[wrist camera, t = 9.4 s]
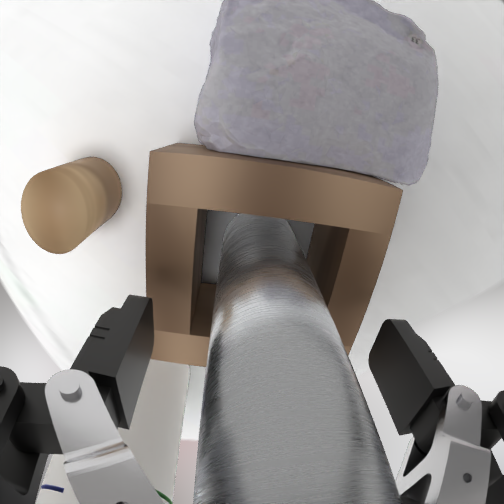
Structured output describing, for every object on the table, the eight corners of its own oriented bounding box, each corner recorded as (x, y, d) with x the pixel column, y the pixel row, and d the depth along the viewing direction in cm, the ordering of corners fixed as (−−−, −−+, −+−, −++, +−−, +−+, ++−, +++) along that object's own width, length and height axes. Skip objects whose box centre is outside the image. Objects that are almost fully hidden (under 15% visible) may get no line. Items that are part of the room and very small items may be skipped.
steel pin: (299, 213, 17) (447, 485, 3) (286, 277, 18) (353, 544, 4) (227, 203, 16) (187, 519, 3) (219, 269, 18) (192, 553, 4)
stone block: (218, 5, 13) (195, 160, 15) (218, -43, 9) (183, 150, 11) (400, 46, 15) (397, 188, 17) (441, 19, 10) (447, 192, 12)
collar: (360, 170, 16) (402, 190, 11) (320, 320, 20) (339, 373, 15) (176, 143, 15) (149, 151, 10) (168, 305, 19) (150, 359, 14)
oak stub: (123, 157, 15) (86, 171, 11) (121, 226, 17) (89, 258, 13) (64, 156, 15) (19, 170, 11) (65, 220, 16) (25, 249, 12)
